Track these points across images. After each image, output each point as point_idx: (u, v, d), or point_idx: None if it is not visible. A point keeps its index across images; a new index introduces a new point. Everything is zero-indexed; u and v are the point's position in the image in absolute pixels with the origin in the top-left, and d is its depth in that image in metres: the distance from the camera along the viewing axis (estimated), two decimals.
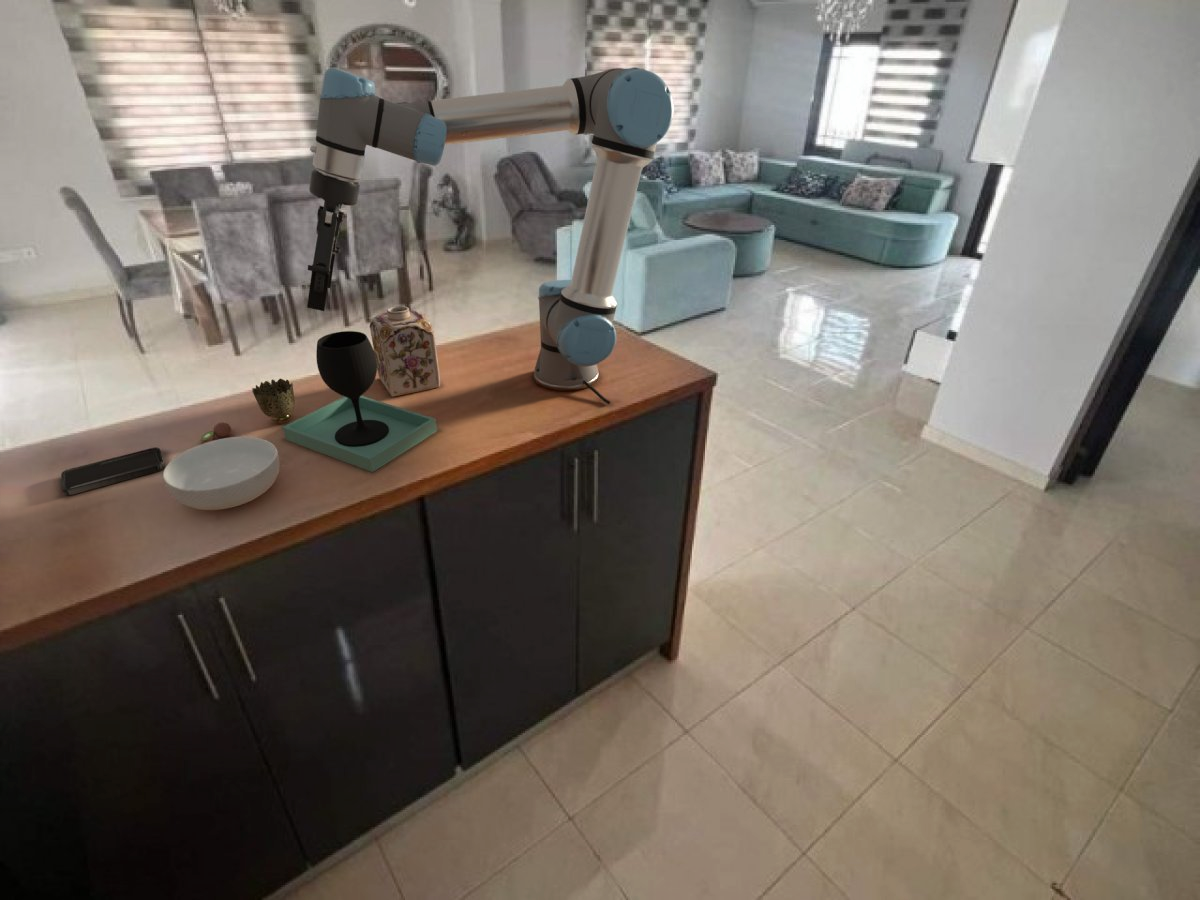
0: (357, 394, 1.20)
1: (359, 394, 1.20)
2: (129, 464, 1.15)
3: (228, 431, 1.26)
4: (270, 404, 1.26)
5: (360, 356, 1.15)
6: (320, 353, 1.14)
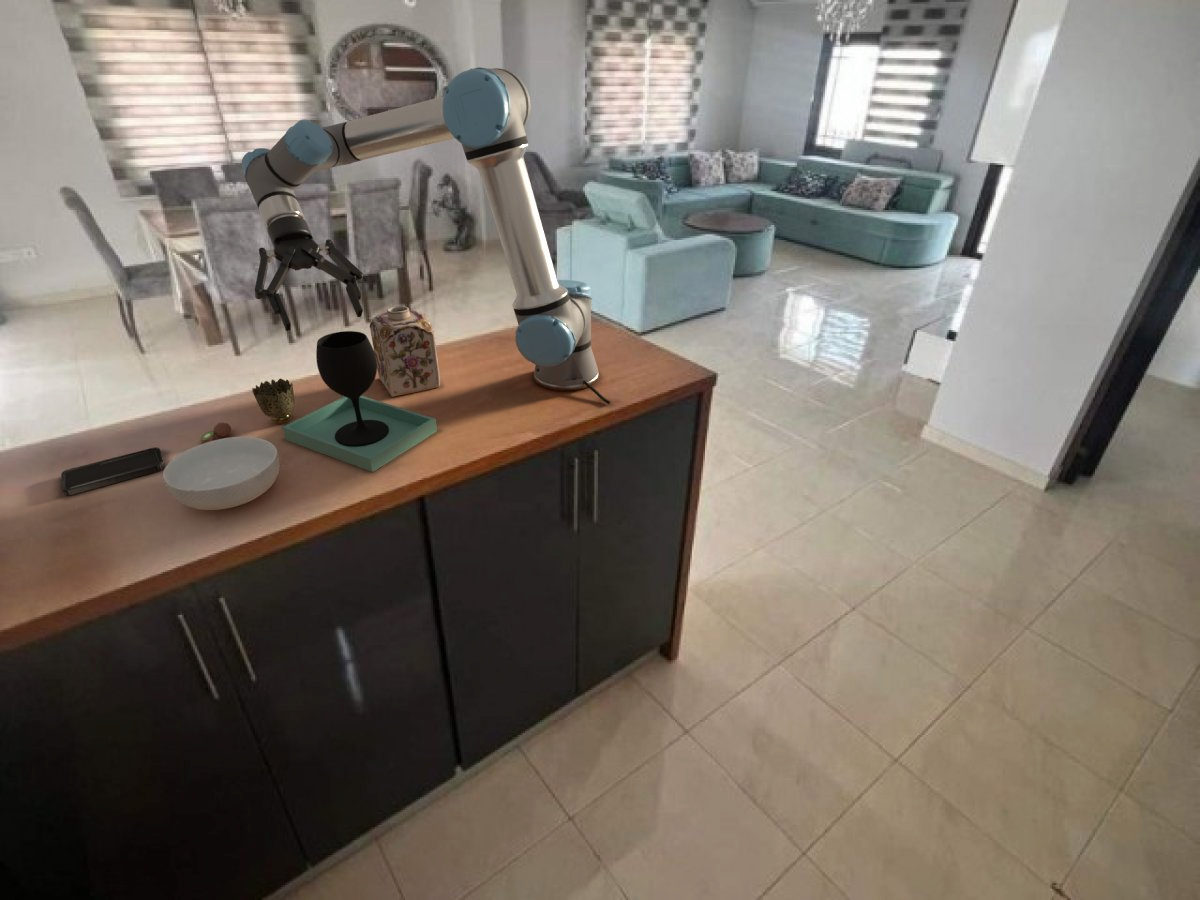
0: (357, 394, 1.20)
1: (359, 394, 1.20)
2: (129, 464, 1.15)
3: (228, 431, 1.26)
4: (270, 404, 1.26)
5: (360, 356, 1.15)
6: (320, 353, 1.14)
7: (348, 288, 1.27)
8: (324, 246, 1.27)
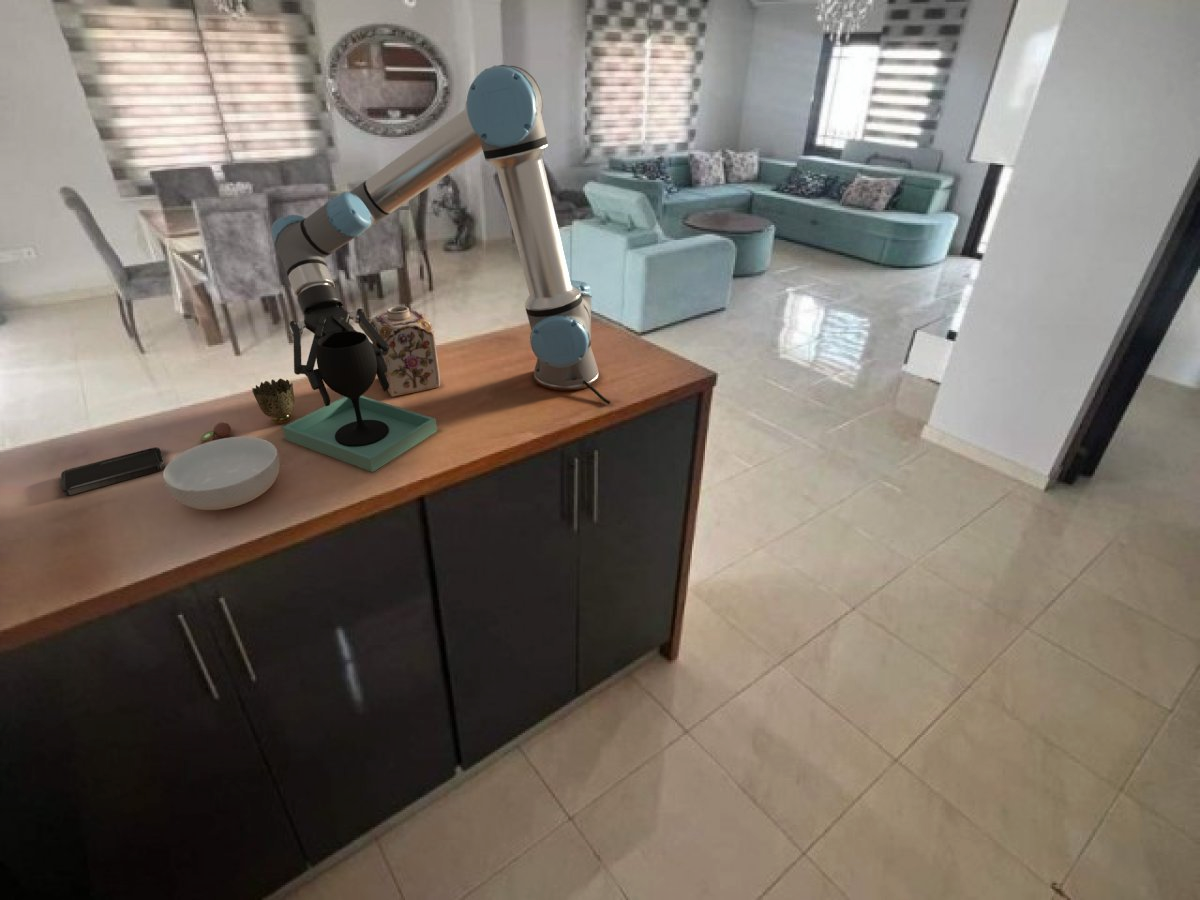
0: (357, 394, 1.20)
1: (359, 394, 1.20)
2: (129, 464, 1.15)
3: (228, 431, 1.26)
4: (270, 404, 1.26)
5: (360, 356, 1.15)
6: (320, 353, 1.14)
7: None
8: (355, 315, 1.24)
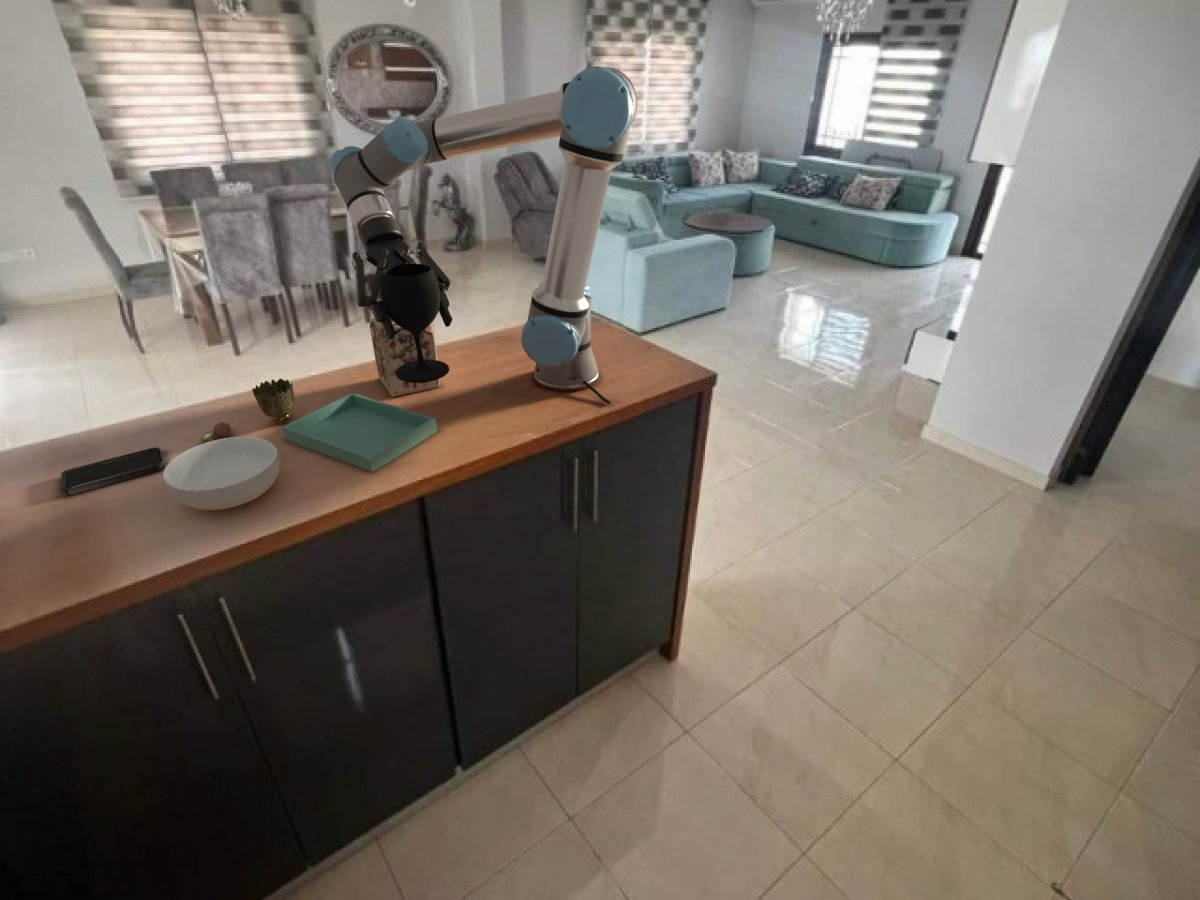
0: (421, 327, 1.17)
1: (422, 328, 1.18)
2: (129, 464, 1.15)
3: (228, 431, 1.26)
4: (270, 404, 1.26)
5: (426, 286, 1.13)
6: (386, 282, 1.12)
7: None
8: (415, 249, 1.22)
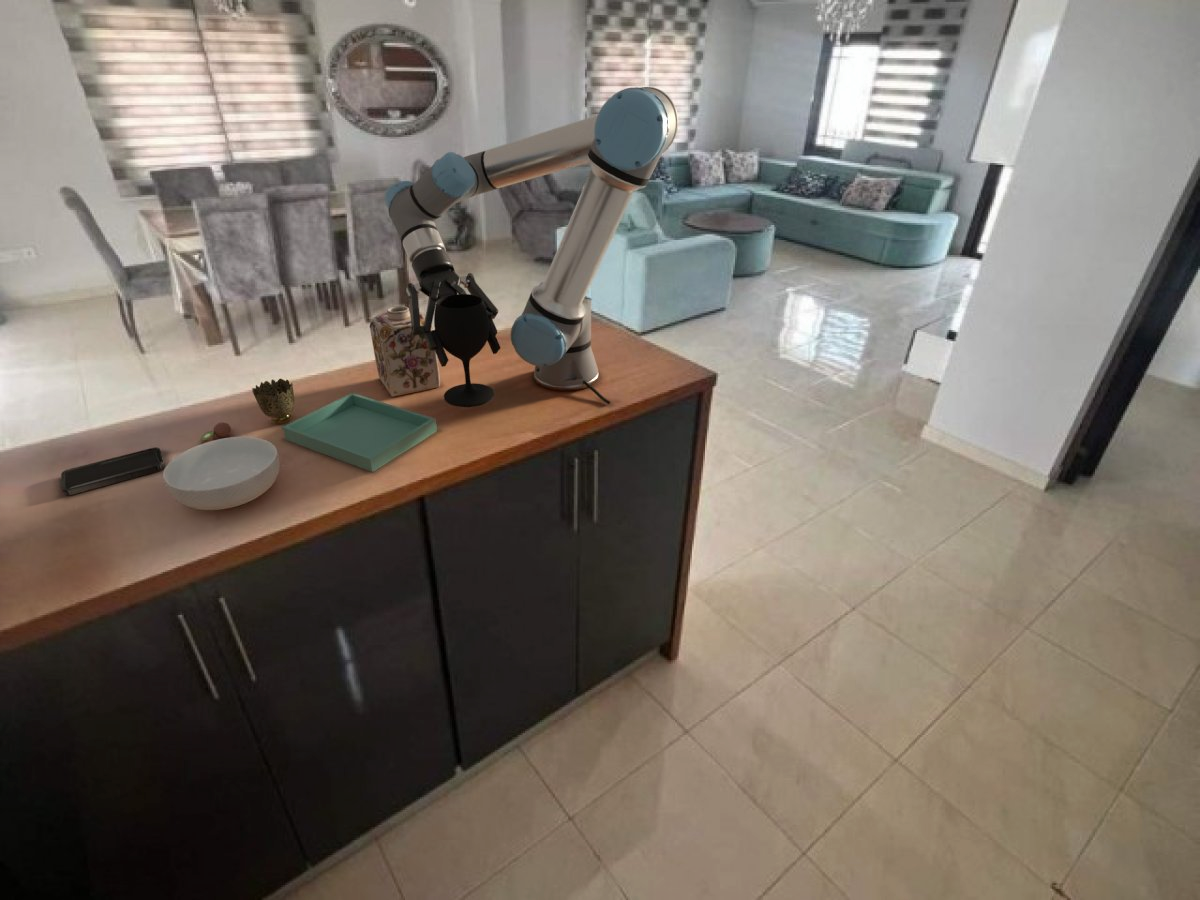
0: (471, 355, 1.23)
1: (472, 355, 1.24)
2: (129, 464, 1.15)
3: (228, 431, 1.26)
4: (270, 404, 1.26)
5: (478, 317, 1.18)
6: (440, 313, 1.17)
7: None
8: (465, 279, 1.27)
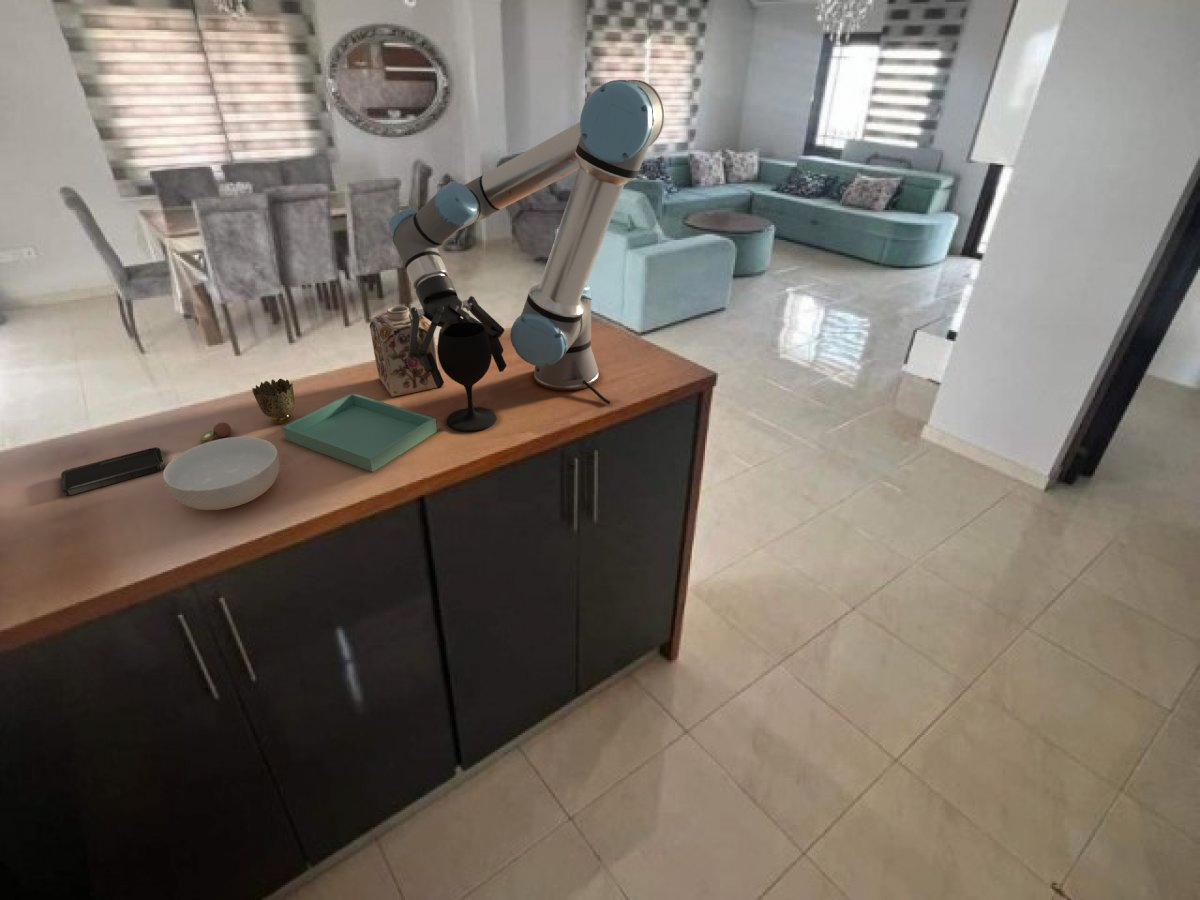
0: (473, 382, 1.26)
1: (475, 382, 1.26)
2: (129, 464, 1.15)
3: (228, 431, 1.26)
4: (270, 404, 1.26)
5: (481, 346, 1.21)
6: (444, 342, 1.20)
7: (491, 344, 1.29)
8: (467, 303, 1.30)
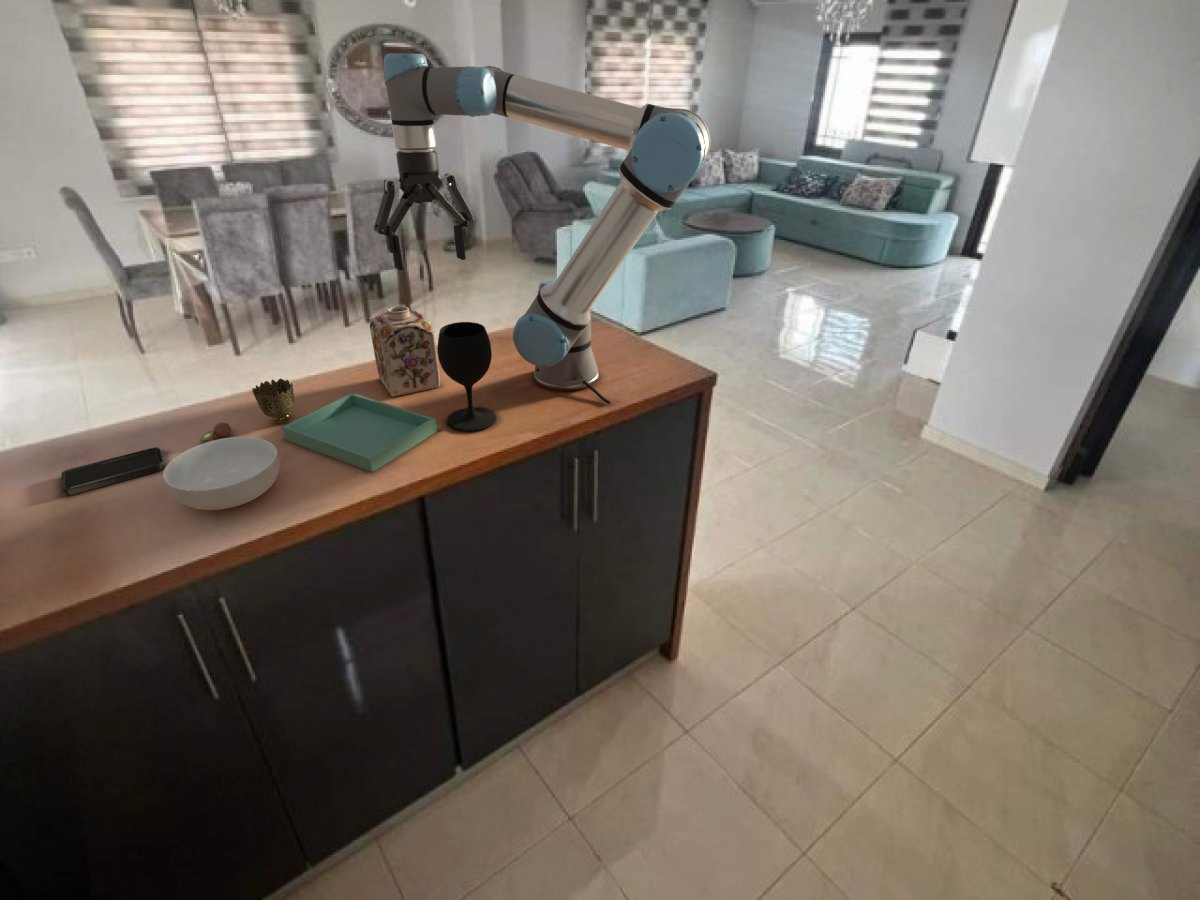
0: (473, 382, 1.26)
1: (475, 382, 1.26)
2: (129, 464, 1.15)
3: (228, 431, 1.26)
4: (270, 404, 1.26)
5: (481, 346, 1.21)
6: (444, 342, 1.20)
7: (457, 231, 1.30)
8: (446, 180, 1.25)
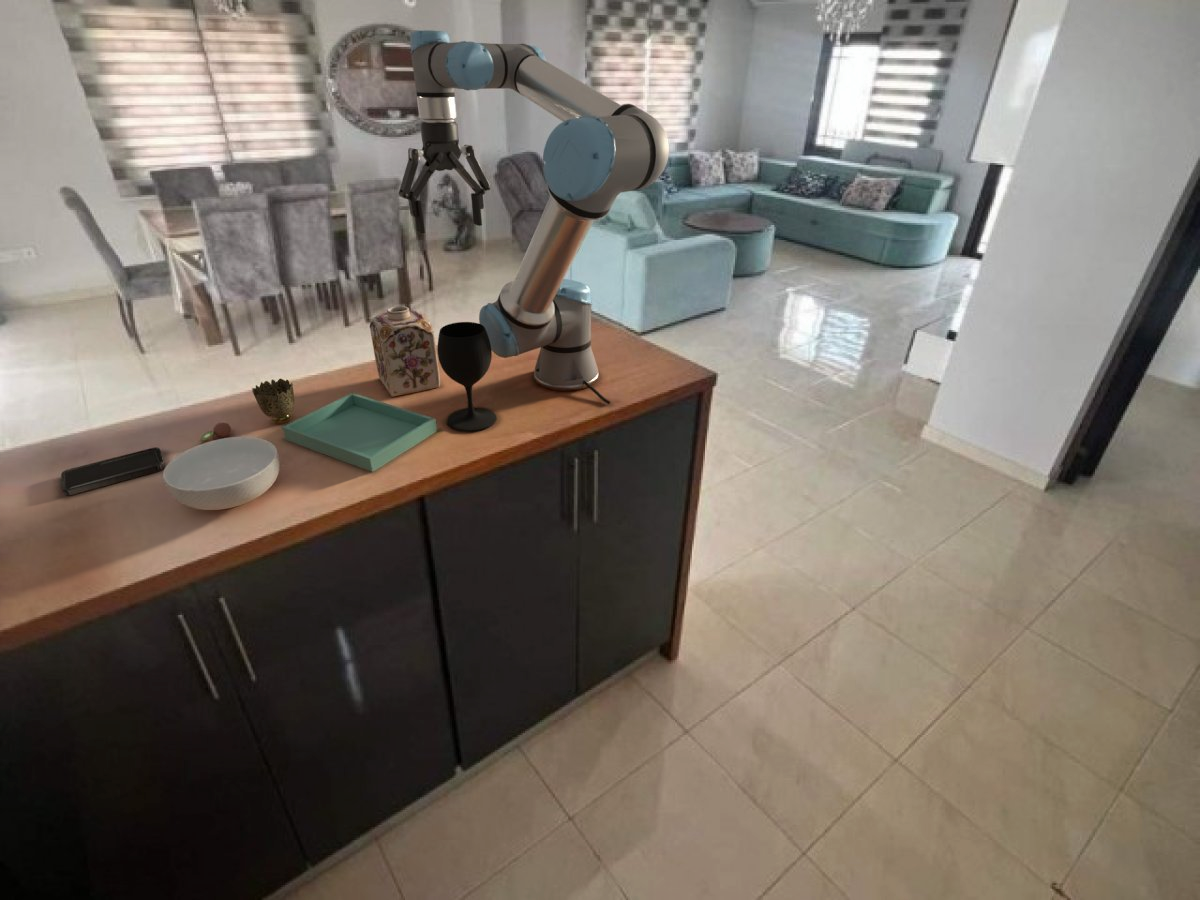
0: (473, 382, 1.26)
1: (475, 382, 1.26)
2: (129, 464, 1.15)
3: (228, 431, 1.26)
4: (270, 404, 1.26)
5: (481, 346, 1.21)
6: (444, 342, 1.20)
7: (475, 199, 1.41)
8: (465, 150, 1.35)
